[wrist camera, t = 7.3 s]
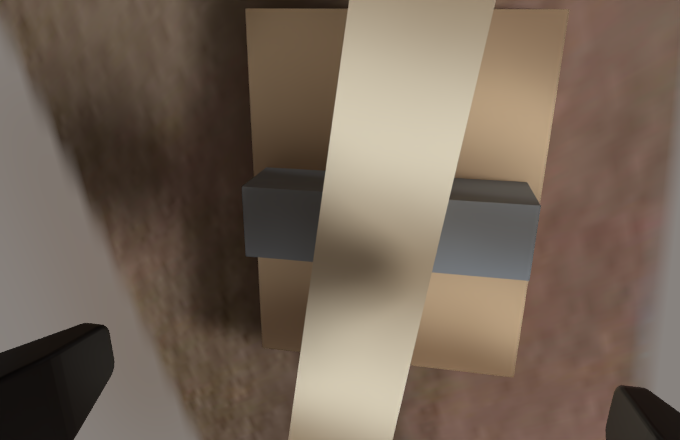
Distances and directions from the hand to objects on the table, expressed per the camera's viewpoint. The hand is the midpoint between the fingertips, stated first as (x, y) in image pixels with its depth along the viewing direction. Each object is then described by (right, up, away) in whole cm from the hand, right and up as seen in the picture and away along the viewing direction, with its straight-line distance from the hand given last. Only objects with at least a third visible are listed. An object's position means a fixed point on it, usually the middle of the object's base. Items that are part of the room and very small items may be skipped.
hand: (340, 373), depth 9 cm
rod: (+1, +2, +7) cm, 7 cm away
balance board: (+2, +4, +11) cm, 11 cm away
